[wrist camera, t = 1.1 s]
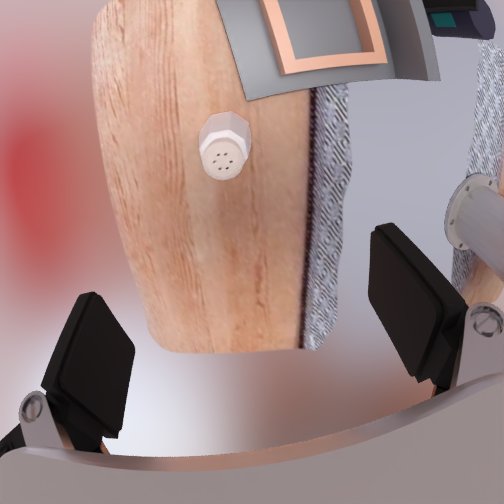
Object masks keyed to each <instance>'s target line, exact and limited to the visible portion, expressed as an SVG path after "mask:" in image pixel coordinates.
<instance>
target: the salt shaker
mask: <svg viewBox="0 0 504 504" xmlns="http://www.w3.org/2000/svg"><path fill="white" fill-rule="evenodd" d="M251 143H252V139H251V134H250V128H249V122H248V121H246V120H245V119H243V118H242V117H240V116H239V115H237V114H236V113H234V112H233V111H228V112H222V113H217V114H212V115H210V117H209V118H208V120H207V121H206V122H205V124H204V125H203V127H202V128H201V130H200V131H199V149H200V155H201V159H202V165H203V168H204V170H205V172H206V173H207V174H208V175H209V176H210V177H212V178H214V179H217V180H229V179H231V178H234V177H235V176H236V175H238V174H239V173H240V171H241V170H242V167H243V165H244V163H245V161H246V160H247V158H248V157H249V153H250V148H251Z"/></svg>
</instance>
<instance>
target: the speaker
mask: <svg viewBox="0 0 504 504" xmlns="http://www.w3.org/2000/svg"><path fill="white" fill-rule="evenodd" d="M422 2H423V5H424V8H425V12H426V15H427V19H428V22H429V26H430V30H431V34H432V35H434V36H440V37H461V38H472V39H481V40H489V39H493V37H494V33H495V22H494V19H493V16H492V13H491V10H490V8H489V6H488V5H487V4H486V2H485V1H484V0H422Z"/></svg>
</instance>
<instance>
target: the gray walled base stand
mask: <svg viewBox="0 0 504 504" xmlns="http://www.w3.org/2000/svg"><path fill="white" fill-rule="evenodd" d="M216 2H217V5H218V8H219V11H220V14H221V17H222V20H223V24H224V27H225V30H226V33H227V36H228V40H229V43H230V46H231V49H232V53H233V56H234V59H235V62H236V66H237V69H238V73H239V76H240V79H241V83H242V86H243V90H244V93H245V97H246V100H247V101H249V100H254V99H258V98H262V97H266V96H271V95H275V94H280V93H285V92H290V91H295V90H301V89H306V88H312V87H318V86H325V85H332V84H340V83H348V82H357V81H368V80H380V79H412V80H424V81H441V80H440V73H439V67H438V62H437V57H436V52H435V47H434V42H433V38H432V34H431V30H430V26H429V22H428V19H427V15H426V12H425V8H424V5H423V2H422V0H216Z"/></svg>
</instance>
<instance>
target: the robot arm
mask: <svg viewBox="0 0 504 504" xmlns="http://www.w3.org/2000/svg"><path fill="white" fill-rule="evenodd" d="M444 224H445V233H446V237H447V239H448V241H449V242H450V243H451V244H452V245H453V246H454V247H455V248H457V249H459V250H468V249H471V250H472V251H473V252H474V253H475V254H476V255H477V256H478V257H479V258H480V259H481V260H482V261H483V262H484V263H485V264H486V265H487V266H488V267H489V268H490V269H491V270H492V271H493V272H494V273H495V274H496V275H497V276H498V277H499V278H500V279H501V280H502V281H503V283H504V197H503V196H501V195H500V194H499V190H498V187H497V185H496V183H495V181H494V180H493V179H492V178H490V177H489V176H487V175H485V174H480V173H478V174H473V175H471V176H469V177H468V178H466V179H465V180H464V181H463V182H462V183H461V184H460V185H459V186H458V187H457V189H456V190H455V192H454V194H453V196H452V197H451V199H450V202H449V204H448V207H447V211H446V215H445V222H444ZM368 297H369V300H370V303H371V305H372V306H373V308H374V310H375V312H376V314H377V315H378V317H379V319H380V321H381V322H382V324H383V326H384V328H385V330H386V331H387V333H388V335H389V337H390V339H391V341H392V342H393V344H394V346H395V348H396V350H397V352H398V354H399V356H400V358H401V359H402V361H403V363H404V365H405V367H406V369H407V371H408V373H409V375H410V376H412V377H413V376H415V378H416V379H417V382H418V383H420V382H422V381H424V380H426V379H429V378H430V379H431V381H432V383H433V384H434V387H433V391H432V394H431V398H430V399H428V400H426V401H424V402H421V403H419V404H417V405H414V406H412V407H410V408H407V409H405V410H402V411H400V412H397V413H395V414H392V415H389V416H386V417H384V418H381V419H378V420H375V421H373V422H370V423H367V424H364V425H361V426H358V427H355V428H352V429H349V430H345V431H341V432H338V433H334V434H331V435H327V436H323V437H320V438H316V439H312V440H307V441H303V442H298V443H294V444H289V445H284V446H279V447H273V448H267V449H261V450H254V451H248V452H240V453H231V454H221V455H208V456H189V457H140V456H122V455H111V454H110V453H109V452H108V450H107V448H106V446H105V445H104V443H103V441H102V437H103V436H104V437H105V438H114V439H115V438H116V439H118V434H119V431H120V430H121V429H122V425H123V418H124V411H125V405H126V398H127V393H128V387H129V382H130V376H131V371H132V365H133V360H134V356H135V347H134V344H133V342H132V341H131V340H130V338H129V337H128V336H127V334H126V333H125V331H124V330H123V328H122V327H121V326H120V324H119V323H118V321H117V320H116V318H115V317H114V315H113V314H112V312H111V310H110V309H109V307H108V306H107V304H106V303H105V301H104V300H103V298H102V297H101V296H100V295H98V294H97V293H95V292H89V293H84V294H81V295H79V297H78V298H77V300H76V303H75V305H74V307H73V309H72V311H71V313H70V315H69V317H68V319H67V322H66V324H65V326H64V328H63V330H62V333H61V335H60V337H59V340H58V342H57V345H56V347H55V349H54V352H53V354H52V357H51V359H50V362H49V364H48V367H47V370H46V372H45V375H44V378H43V381H42V383H41V387H42V388H43V389H45V390H46V391H47V392H46V395H44V394H43V393H42V392H40V391H33V392H31V393H29V394H28V395H27V396H26V397H25V398H24V400H23V401H22V403H21V405H20V408H19V420H20V423H19V424H18V425H17V426H16V427H15V428H14V429H13V430H12V431H11V432H10V433H9V434H7V435H6V436H5V437H4V438H3V439H2V440H1V441H0V504H504V313H503V312H502V311H501V310H500V309H499V308H498V307H496V306H495V305H493V304H490V303H487V302H479V303H475V304H473V305H472V306H470V307H468V306H467V304H466V303H465V300H464V299H463V298H462V297H461V295H460V294H459V293H458V292H457V291H456V289H455V288H454V287H453V286H452V285H451V283H450V282H449V281H448V280H447V279H446V278H445V277H444V276H443V274H442V273H441V272H440V271H439V270H438V269H437V268H436V267H435V266H434V264H433V263H432V262H431V261H430V260H429V259H428V258H427V257H426V256H425V255H424V254H423V253H422V251H421V250H420V249H419V248H418V247H417V246H416V245H415V244H414V243H413V242H412V241H411V240H410V239H409V238H408V237H407V236H406V235H405V234H404V233H403V232H402V231H401V230H400V229H399V228H398V227H397V226H396V225H395V224H394V223H387V224H382V225H378V226H376V227H375V231H373V232H371V240H370V268H369V285H368Z"/></svg>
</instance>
